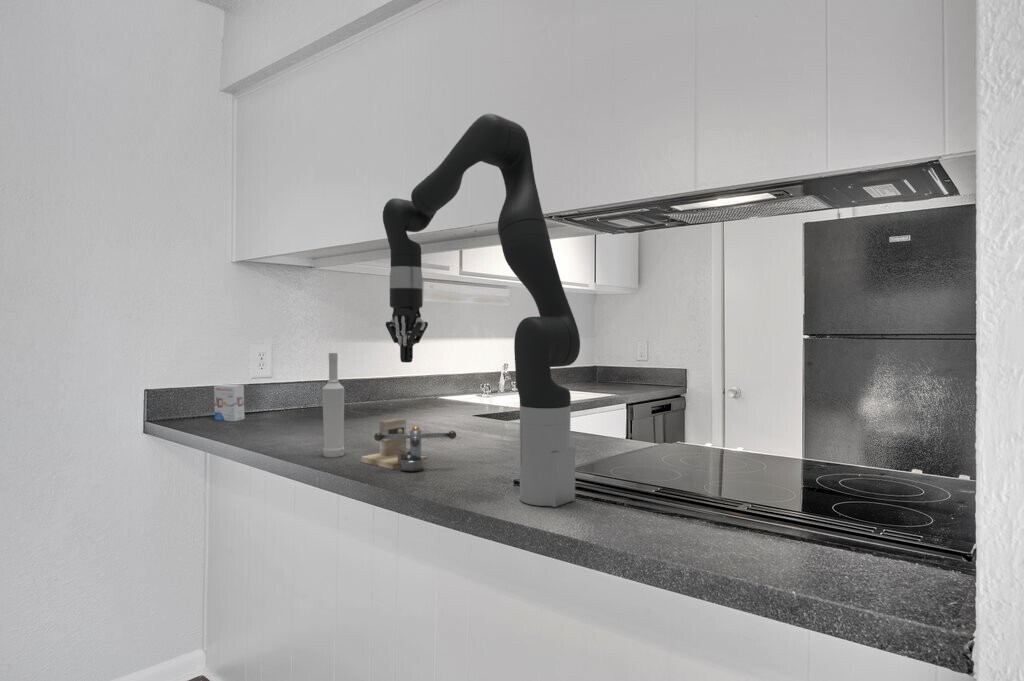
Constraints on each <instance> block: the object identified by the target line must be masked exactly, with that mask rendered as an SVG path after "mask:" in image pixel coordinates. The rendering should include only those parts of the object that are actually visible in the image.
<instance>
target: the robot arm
mask: <svg viewBox="0 0 1024 681" xmlns="http://www.w3.org/2000/svg"><path fill="white" fill-rule="evenodd" d="M531 150H532V149H531V145H530V140H529V136H528V134H527V132H526V130H525V129H524V127H523V126H522V125H521V124H519V123H517V122H516V121H512V120H510V119H507V118H505V117H503V116H500V115H497V114H494V113H486V114H483V115H481V116H479V117H478V118H477V119H476V120H474V121H473V123H472V124H471V125H470V126H469V127H468V128H467V130H466V131H465V132H464V134H463V135H462V136H461V137H460V138H459V140H458V141H457V143H455V145H454V146H453V147H452V149H451V150H450V152H449V153H448V154H447V155H446V157H444V159H443V160H442V162H441V163H440V164H439V165H438V166H437V167H436V168H435V169H434V170H433V171H432V172H431V173H430V174H429V175H427V176H426V177H425V178H424V179H423V180H421V181H420V182H419V183H418V184H417V185H416V186H415V187H413V190H412V191H411V194H410V198H411V200H408V199H401V198H397V197H396V198H394V197H393V198H391V199H389V200H388V201H386V203H385V205H384V207H383V210H382V222H383V227H384V231H385V234H386V238H387V240H388V241H387V242H388V245H389V249H390V250H389V251H390V272H389V307H390V308H392V310H393V311H392V314H391V315H392V316H391V319H390V321H386V322H385V327H386V329H387V331H388V333H389V334H390V335H389V336H390V337H391V339H392V341H393V343H394V344H398V346H399V351H400V352H399V356H400V357H399V358H400V362H401V363H412V361H413V358H414V356H413V355H414V352H413V351H414V349H413V348H414V346H415V345H416V344H420V341H421V339H422V338H423V336H424V334H425V332H426V330H427V328H428V325H429V323H428V321H424V320H423V319H422V318H421V316H422V314H421V312H420V309H421V308H423V305H424V302H423V300H424V299H423V298H424V297H423V295H424V294H423V290H424V289H423V272H422V246H421V245H420V243H418V242H417V241H414V240H412V239H410V237H409V236H408V233H407V232H410V233H419V232H421V231H423V230H425V229H426V228H427V227H428V226H429V225H430V223H431V221H432V220H433V218H434V217H435V216H436V214H437V212H438V211H439V210H440V209H442V208H443V207H444V206H446V205H447V204H448V203H449V202H451V201H452V200H453V199H454V198H455V197H456V196H457V194H458V192H459V190H460V188H461V184H462V181H463V180H462V179H463V177H464V174H465V172H467V170H468V169H470V168H471V167H473V166H474V165H476V164H478V163H480V162H481V163H485V164H488V165H490V166H493V167H496V168H498V169H499V170H500V172H501V175H502V178H503V179H502V180H503V183H504V187H505V199H504V202H503V205H502V208H501V210H500V212H499V217H498V221H497V230H498V232H497V233H498V235H499V236H498V237H499V240H500V245H501V249H502V253H503V257H504V259H505V261H506V263H507V266H509V268H510V269H511V271H512V272H513V273H514V275H515V276H516V277H517V279H519V281H520V282H521V284H522V285H523V286H524V287H525V288H526V289H527V291H528V292H529V293H530V295H531V297H532V298H533V301H534V302H535V305H536V307H537V310H538V314H539V316H528V317H525V318H523V319H522V320H521V321H520V322H519V324H518V326H517V327H516V330H515V333H514V340H513V341H514V342H513V347H514V348H513V349H514V351H513V352H514V353H513V354H514V364H515V365H514V366H515V385H516V389H517V390H516V391H517V393H518V396H519V500H520V501H521V502H522V503H525V504H526V505H533V506H541V507H543V506H544V507H552V508H556V507H559V506H561V505H565V504H567V503H570V502H573V501H575V500H576V449H575V447H573V446H571V404H572V403H571V402H572V400H571V399H572V398H571V391H570V390H569V389H568V388H566V387H563V386H561V385H559V384H558V383H556V382H555V380H553V377H552V372H551V371H552V370H551V368H557V367H558V368H560V367H567V366H571V365H573V364H574V363H575V362H576V360H577V359H578V357H579V356H580V355H579V354H580V352H581V351H580V350H581V340H580V339H581V338H580V337H581V336H580V333H579V328H578V325H577V322H576V319H575V317H574V313H573V311H572V308H571V305H570V303H569V300H568V297H567V296H566V295H567V294H566V293H565V289H564V287H563V283H562V281H561V277H560V273H559V270H558V267H557V263H556V259H555V256H554V253H553V248H552V244H551V238H550V234H549V231H548V226H547V223H546V220H545V216H544V213H543V210H542V205H541V200H540V197H539V191H538V188H537V183H536V179H535V172H534V166H533V159H532V152H531Z"/></svg>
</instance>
